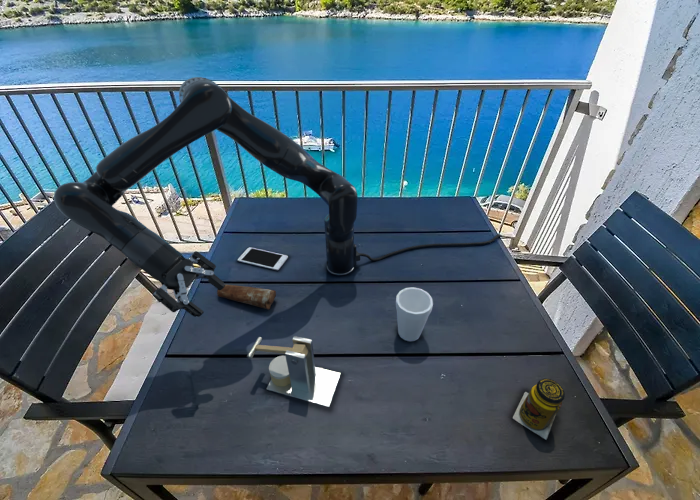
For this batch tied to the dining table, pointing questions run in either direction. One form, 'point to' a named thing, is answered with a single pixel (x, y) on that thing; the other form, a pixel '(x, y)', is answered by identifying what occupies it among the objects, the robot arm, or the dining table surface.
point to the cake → (279, 371)
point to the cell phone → (263, 258)
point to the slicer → (307, 377)
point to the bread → (248, 295)
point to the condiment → (540, 406)
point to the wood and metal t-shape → (276, 348)
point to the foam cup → (412, 312)
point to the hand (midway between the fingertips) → (212, 300)
